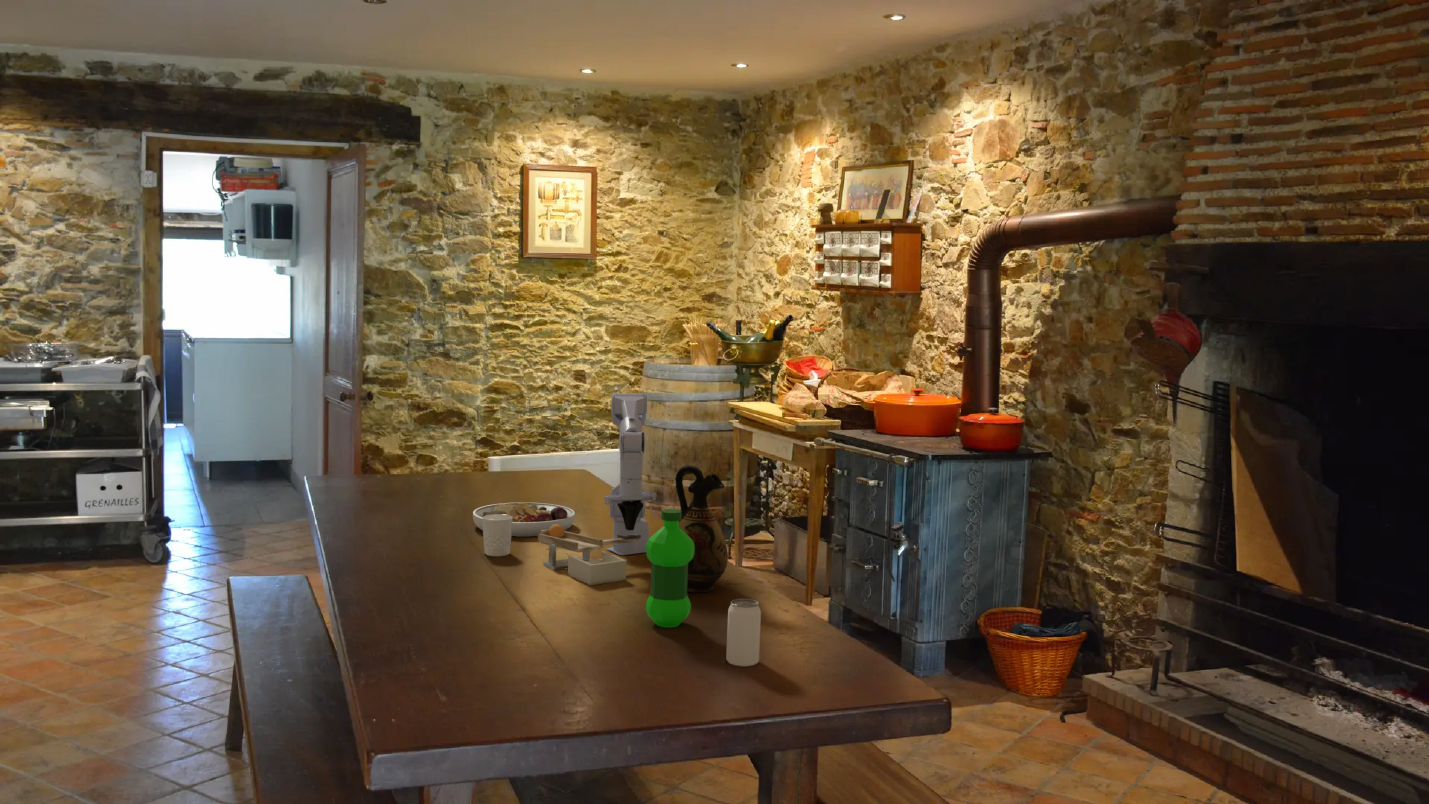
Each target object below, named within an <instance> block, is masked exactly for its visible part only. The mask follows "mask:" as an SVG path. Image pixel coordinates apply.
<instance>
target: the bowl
mask: <svg viewBox="0 0 1429 804" xmlns="http://www.w3.org/2000/svg"><path fill="white" fill-rule="evenodd" d="M492 514H504V515H510V516H512V517H513V519H512V535H511V537H512V536H516V538H530V536H536V537H538V534H541V530H549V529H550V527H551V526H552V525H555V524H558V525H561V526H562V527H563V528H564V531H567V530H569V528H571V526H572V525H573V524H574V523H575V522H574V521H575V519H576V512H575V511H574V509H571V508H570V507H567V506H563V505H558V504H552V503H541V502H527V501H525V500H523V501H519V502H506V503H505V502H504V503H495V504H489V505H484V506H480V507H478V508H475V509H474V510H473V511H472V519H473V522H474V524H475V525H476V527H477V528H478V529H480V530H481V531H483V516H486V515H492Z"/></svg>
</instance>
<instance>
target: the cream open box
mask: <svg viewBox="0 0 1429 804" xmlns="http://www.w3.org/2000/svg"><path fill="white" fill-rule="evenodd" d="M600 554H601V555H600V556H601V557H600V558H598V559H590V560H589V561H583V560H580V559H578V558H579V557H576V556H574V555H569V554H568V556H567V559H568V569H567V575H568V574H569V575H570V577H571V576H572V578H573V577H575V578H576V580H578V581H579V582H582V583H585V584H586V583H587V584H586V585H588V586H595V585H601V584H608V583H609V584H610V583H616V582H622V581H623V580H624V581H627V560H626V559H623V558H621V557H618V556H616V555H614V554H611V553H609V552H607V551H604V550H601V553H600ZM569 575H568V576H569ZM575 578H574V579H575ZM624 581H623V582H624Z"/></svg>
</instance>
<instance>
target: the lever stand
mask: <svg viewBox="0 0 1429 804" xmlns="http://www.w3.org/2000/svg"><path fill="white" fill-rule="evenodd" d="M577 558H578V559H580V560H583V561H589V560H591V551H586V552H582V557H577ZM542 565H543V566H545V567H546V568H548V569H550V568H551V570H553V571H560V569H562V570H566V569H565V568H568V558H567V559H566V558H565V559H560V560H559V559H557V547H556V545H555V544H549V545H548V561H543V564H542Z"/></svg>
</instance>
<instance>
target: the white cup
mask: <svg viewBox="0 0 1429 804" xmlns="http://www.w3.org/2000/svg"><path fill="white" fill-rule="evenodd" d="M512 519H513V517H512V516H510V515H504V514H492V515H486V516H483V530H482V535H483V538H482V539H483V547H484V549H483V550H484V551H483V553H484V555H485V554H486V556H488V557H504V556H509V554H510V553H511V543H512V536H511V535H512Z"/></svg>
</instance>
